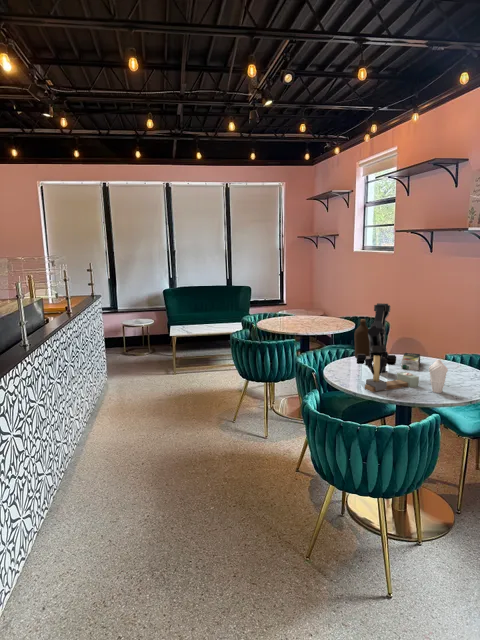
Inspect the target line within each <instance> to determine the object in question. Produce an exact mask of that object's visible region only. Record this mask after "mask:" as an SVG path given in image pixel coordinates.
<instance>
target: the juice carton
mask: <svg viewBox="0 0 480 640" xmlns="http://www.w3.org/2000/svg"><path fill="white" fill-rule="evenodd" d="M420 365H421V354H420V353H412V352H411V353H408V352H404V353H403V356H402V358H401V364H400V368H401V370H404V369H405V370H409V369H410V370H412V371H419V370H420Z"/></svg>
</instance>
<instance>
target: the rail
mask: <svg viewBox="0 0 480 640" xmlns="http://www.w3.org/2000/svg"><path fill="white" fill-rule="evenodd" d="M386 382H387V389H385V390H378V391H376V390H375V387H373V386H371V385H369V384H367V385H366V384H364V390H367V391H369V392H371V393H374V392H376V393H377V392H382V391H387V390H388V391H389V390H394V389H400V388H401V389H402V388H406V387H408V383H407V382H405V381H402V380H397V379H395V380H387V381H386ZM408 388H409V387H408Z"/></svg>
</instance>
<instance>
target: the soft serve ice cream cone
mask: <svg viewBox="0 0 480 640" xmlns="http://www.w3.org/2000/svg"><path fill="white" fill-rule="evenodd" d="M428 371H429V375H430V377H429V378H430V379H429V380H430V385H431V391H432V392H433V393H436V394H440V393H443V390H444V386H445V383H446V376H447V373H448V371H449V369H448V367H447V366H446V365H445V363H443V362H442V360H441V359H439V358H438V359H436V360H435V361H434V362H433V363H432V364H431V365H429V367H428Z"/></svg>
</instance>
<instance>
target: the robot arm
mask: <svg viewBox="0 0 480 640" xmlns="http://www.w3.org/2000/svg"><path fill="white" fill-rule="evenodd" d="M373 306H374V307H373V312H375V316H374V321H373V323H371V325H370V328H369V327H368V328H369V330H368V336H369V341H370V356H366V357H365V354H357V358H356V364H358V365H365V366H367V367H368V369H369V370H370V372H371V374H372V375H373V374H374V371H373V364H374V355H379V356H380V376H381V375H382V374H384V373H388V371H387V365H388V366H395V365H396V362H397V356H396V355H395V354H389V353H388V350H387V344H385V336H386V332H387V331H386V322H387V321H386V320H387V318H388V317H389V316H390V312H391V305H389V303H379V302H378V303H376V304H374V305H373Z"/></svg>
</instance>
